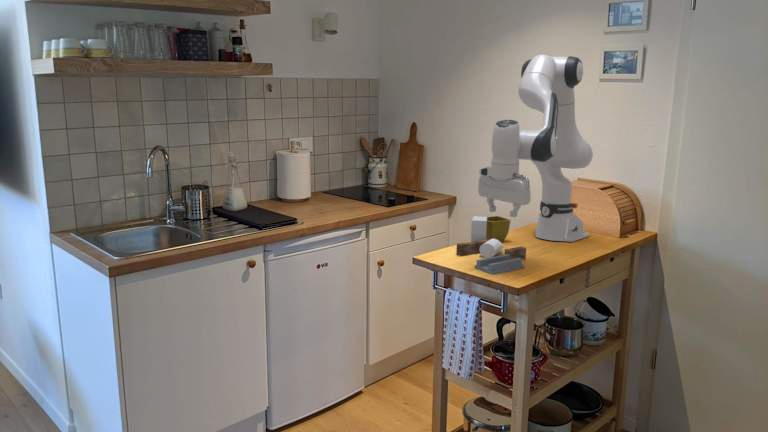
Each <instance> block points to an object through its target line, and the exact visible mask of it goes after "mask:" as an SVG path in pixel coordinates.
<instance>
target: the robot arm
mask: <svg viewBox="0 0 768 432" xmlns="http://www.w3.org/2000/svg"><path fill="white" fill-rule="evenodd" d="M583 75H584V66H583V62H582V60H581V59H580V58H579V57H576V56H555V55H554V56H550V55H547V54H537V55H535V56H534V57H532V58H530V59H528V60H526V61H525V62H524V63H523V64H522V66H521V71H520V76H521V77H520V78H521V79H520V81H519V85H518V89H517V90H518V92H517V93H518V96H519V99H520V100H521V102H522V103H523V104H524V105H526V107H529V108H530V109H533V110H536V111H539V112H541V113H542V114H543V116H542V117H543V119H542V126H541V128H539V129H537V130H536V129H532V130H531V129H521V127H520V123H519V121H518V120H517V121H516V120H514V119H504V120H503V119H502V120H498V121H497V122H496V123H494V126H493V131H492V135H491V136H492V137H491V138H492V139H491V153H492V156H491V160H490V165H488V166H486V167H481V168H479V169H478V170H479V171H478V174H479V175H480V176H479V178H478V185H477V186H478V188H477V190H478V191H477V192H478V195H479V197H483V198H486V202H487V205H488V208H489V209H488V210H489V212H490V213H495V212H496V211H497V206H496V205H495V202H494V201H495V200H496V201H501V202H506V203H510V204H512V207H513V209H512V210H510V211H509V213H510V215H509V216H510V217H512V218H517V217H518V212H519V211H520V208H521V207H522V206H527V205H529V204H530V203H531V201H532V199H531V198H532V196H531V184H530V182H531V181H530V179H529V178H528V177H527V175H525V174H520V173H519V171H520V160H524V161H525V160H526V161H531V162H532V163H533V165H535V168H537V170H538V172H539V175H540V178H541V185H542V186H541V188H542V189H541V201H540V203H539V210H540V212H539V214H538V218H537V224H536V229H535V230H534V233H535V236H534V237H536V238H538V239H541V240H547V241H554V242H555V241H556V242H567V243H568V242H571V243H573V242H577V241H580V240H581V239H585V238H587V237H590V233H588V232H586V231H584V221H582V219H581V218H580V217H579V216H577V214H576V213H574V209H578V205H579V204H578V203H574V202H572V190H573V189H572V188H573V185H572V182H571V180H570V179H569V178H568V177H566V176H565V175H564V173H563V171H562V170H561V168H563V169H571V170H575V169H577V170H578V169H585V168H586V167H588V166H589V165H590V164H591V161H592V159H593V148H592V147H591V145H590V144H589V143H588V142H587V141H586V140H585V139H584V138H583V137H582V135H581V134H580V131H579V130H578V126H577V123H576V112H575V110H576V109H575V103H576V102H575V101H576V100H575V86H578V85H579V83H580V82H581V81H582V78H583Z"/></svg>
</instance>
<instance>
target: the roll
mask: <svg viewBox="0 0 768 432" xmlns="http://www.w3.org/2000/svg"><path fill="white" fill-rule="evenodd" d="M503 249H504V244H503V243H502V242H500V241H498V240H497V239H491V240H489V241H487V242H485V243H484V244H483V245H481V247H480V249H479V251H480V253H479V254H480V255H481V256H482V257H483V258H489V257H495V256H497V254H499V253H500V252H502V250H503Z"/></svg>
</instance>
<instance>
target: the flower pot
mask: <svg viewBox="0 0 768 432" xmlns="http://www.w3.org/2000/svg"><path fill="white" fill-rule="evenodd" d="M486 217H487V236H486V239H489V238H490V239H497V240H498V241H500V242H501V243H502V242H504V241H505V239H506V238H507V236H508V234H509V231H510V226H511V219H509V218H507V217H502V216H499V215H495V216H494V215H492V216H486Z"/></svg>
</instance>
